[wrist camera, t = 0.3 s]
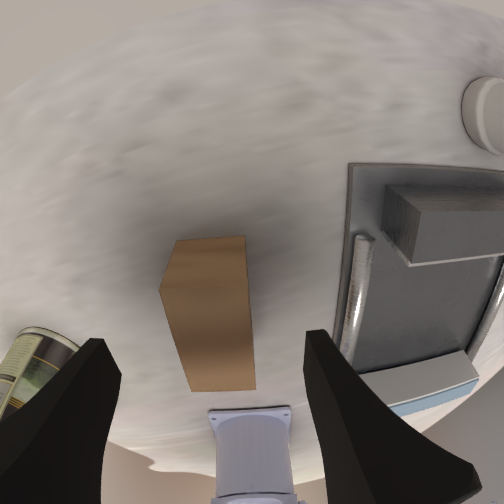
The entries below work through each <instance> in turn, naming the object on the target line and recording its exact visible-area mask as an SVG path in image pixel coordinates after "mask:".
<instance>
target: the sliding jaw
mask: <svg viewBox="0 0 504 504" xmlns="http://www.w3.org/2000/svg"><path fill="white" fill-rule="evenodd" d="M359 376H360V377H361V378H362V380H363V381H364V382H365V383H366V384H367V385H368V386H369V388H370V389H371V390H372V391H373V392H374V393H375V394H376V395H377V396H378V397H379V398H380V399H381V400H382V401H383V402H384V403H385V404H386V405H387V406H388V407H389V408H390V409H391V410H392V411H393V412H394V413H396V414H397V415H398V416H399V417H401V416H405V415H409V414H412V413H415V412H419V411H422V410H425V409H428V408H431V407H434V406H437V405H440V404H443V403H446V402H449V401H452V400H454V399H457V398H460V397H462V396H465V395H467V394H470V392H471V391H472V389H473V388H474V387H475V385H476V384H477V382H478V381H479V379H478V378H479V374H478V373H477V371H476V369H475V368H474V366H473V365H472V363H471V361H470V360H469V358H468V356H467V355H466V353H465V352H464V350H461V351H458V352H454V353H451V354H448V355H444V356H440V357H437V358H433V359H429V360H425V361H422V362H418V363H413V364H409V365H405V366H401V367H396V368H392V369H387V370H382V371H377V372H372V373H367V374H361V375H359Z"/></svg>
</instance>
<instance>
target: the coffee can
mask: <svg viewBox="0 0 504 504" xmlns="http://www.w3.org/2000/svg"><path fill="white" fill-rule="evenodd" d="M79 349H80V348H79V347H78V346H77V345H75V344H74V343H72V342H71V341H70V340H68V339H67V338H65V337H63V336H61V335H59V334H57V333H54V332H52V331H49V330H46V329H43V328H36V327H30V328H26V329H24V330H22V331H20V333H19V334H18V336H17V339H16V340H15V342H14V344H13V345H12V347H11V348H10V350H9V352H8V353H7V355H6V357H5V358H4V360H3V361H2V363H1V365H0V422H2V421H3V420H5V419H6V418H7V417H9V416H10V415H12V414H13V413H14V412H16V411H17V410H18V409H19V408H21V407H22V406H23V405H24V404H25V403H26V402H28V401H29V400H30V399H31V398H32V397H33V396H34V395H35V394H36V393H37V392H38V391H39V390H40V389H41V388H42V387H43V386H44V385H45V384H46V383H47V382H48V381H49V380H50V379H51V378H52V377H53V376H54V375H55V374H56V373H57V372H58V371H59V370H60V369H61V368H62V367H63V366H64V365H65V363H66V362H67V361H68V360H69V359H70V358H71V357H72V356H73V355H74V354H75V353H76V352H77V351H78V350H79Z"/></svg>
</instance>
